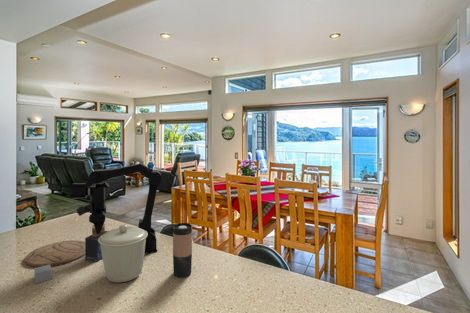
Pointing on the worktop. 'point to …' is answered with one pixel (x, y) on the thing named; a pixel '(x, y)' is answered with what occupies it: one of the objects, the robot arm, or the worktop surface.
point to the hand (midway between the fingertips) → (98, 230)
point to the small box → (93, 248)
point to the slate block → (43, 273)
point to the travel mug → (182, 249)
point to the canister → (123, 252)
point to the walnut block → (100, 232)
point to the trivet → (56, 254)
